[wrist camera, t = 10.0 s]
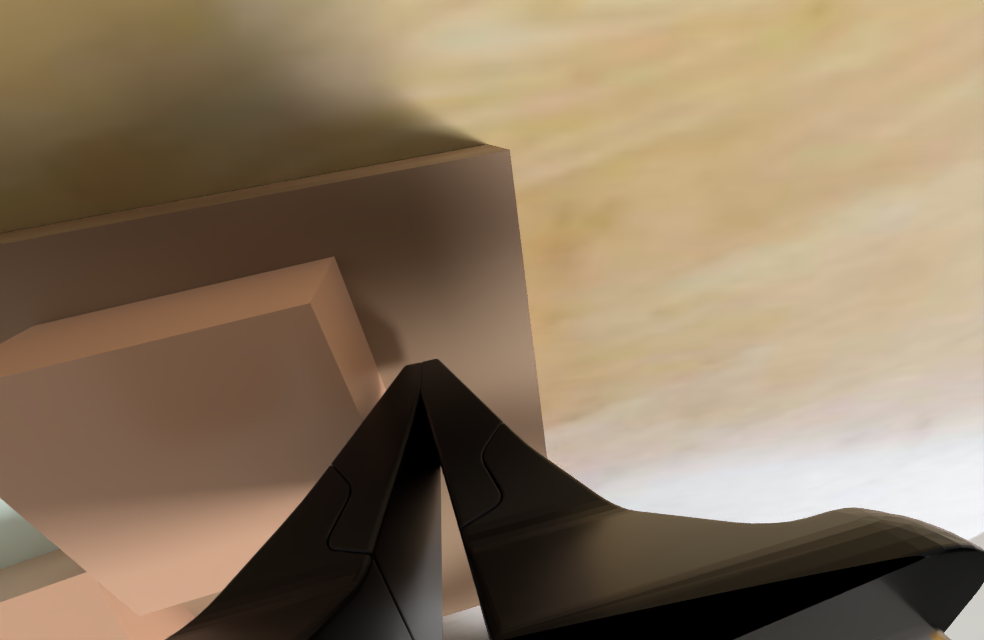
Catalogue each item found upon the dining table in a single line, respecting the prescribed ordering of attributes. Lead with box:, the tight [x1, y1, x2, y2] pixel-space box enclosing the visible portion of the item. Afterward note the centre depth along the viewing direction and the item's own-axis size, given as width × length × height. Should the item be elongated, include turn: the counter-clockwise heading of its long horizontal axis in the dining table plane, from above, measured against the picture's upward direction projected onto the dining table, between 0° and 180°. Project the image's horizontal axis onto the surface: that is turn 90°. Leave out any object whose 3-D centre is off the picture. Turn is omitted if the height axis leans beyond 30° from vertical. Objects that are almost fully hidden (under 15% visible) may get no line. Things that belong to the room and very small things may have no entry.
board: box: [0, 144, 547, 617], centre depth 12 cm, size 16×12×2 cm
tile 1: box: [0, 257, 386, 616], centre depth 8 cm, size 6×6×2 cm
